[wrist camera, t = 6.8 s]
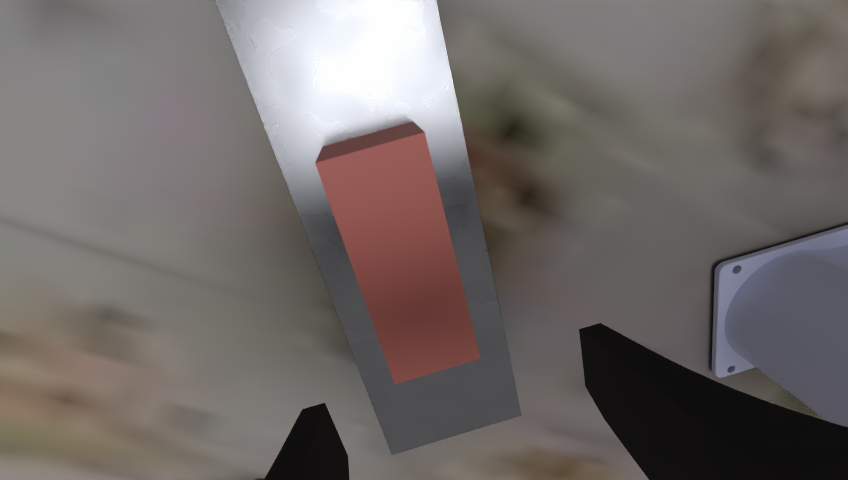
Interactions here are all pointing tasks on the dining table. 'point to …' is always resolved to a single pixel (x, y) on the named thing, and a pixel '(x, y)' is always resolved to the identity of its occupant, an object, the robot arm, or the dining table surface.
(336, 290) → the rail
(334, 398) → the dining table surface
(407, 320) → the clip
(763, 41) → the dining table surface
